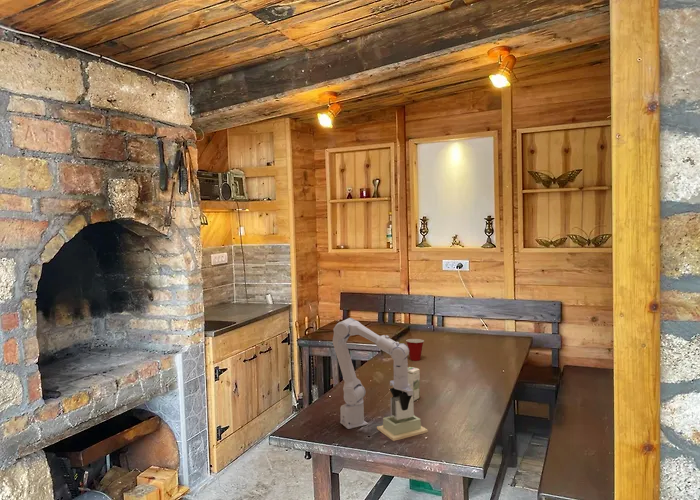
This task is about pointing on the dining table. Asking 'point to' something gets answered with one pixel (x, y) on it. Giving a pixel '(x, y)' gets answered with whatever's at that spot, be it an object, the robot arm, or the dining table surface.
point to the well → (401, 427)
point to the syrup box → (414, 382)
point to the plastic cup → (415, 348)
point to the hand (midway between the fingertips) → (401, 407)
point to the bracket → (397, 409)
